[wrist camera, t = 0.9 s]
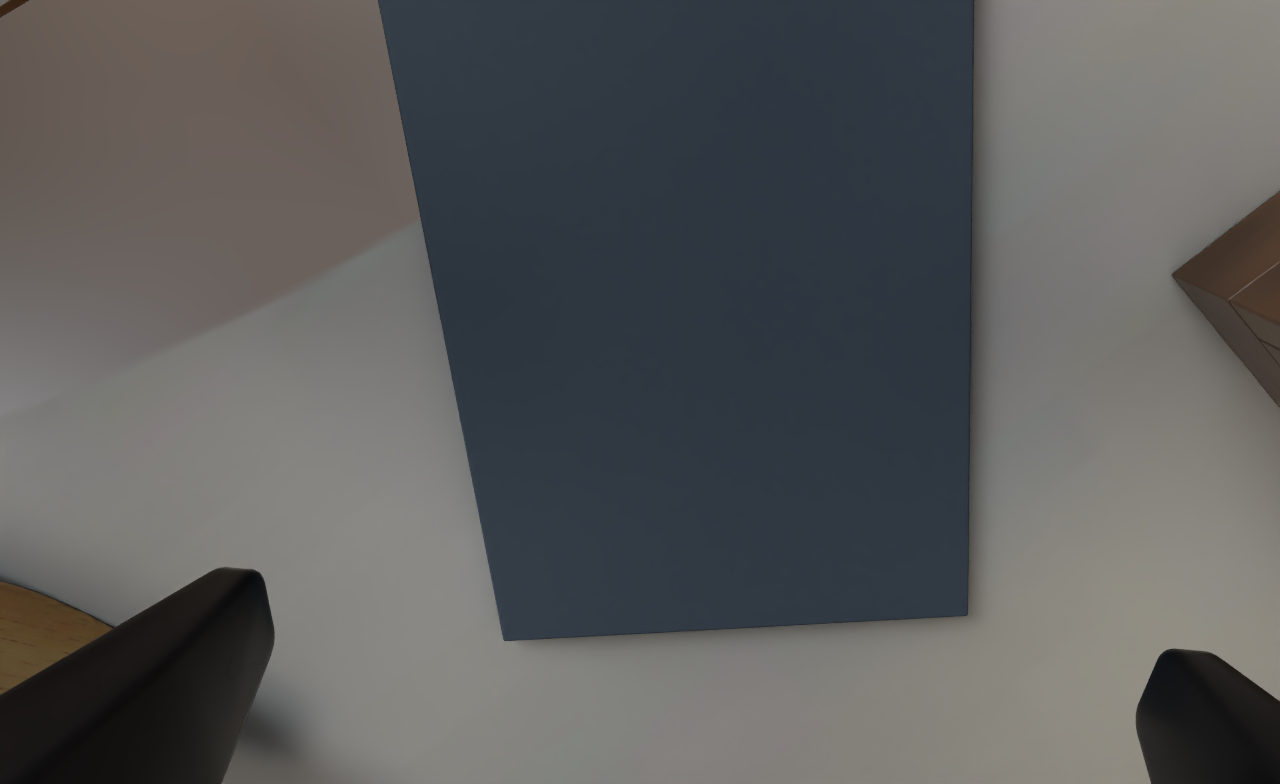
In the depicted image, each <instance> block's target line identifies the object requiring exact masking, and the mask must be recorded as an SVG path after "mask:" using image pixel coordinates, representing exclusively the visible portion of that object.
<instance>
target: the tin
mask: <svg viewBox="0 0 1280 784" xmlns="http://www.w3.org/2000/svg"><path fill="white" fill-rule="evenodd" d="M27 1H28V0H0V17H2V16H3V15H5V14H7V13H8V12H10V11H12V10H13V9H15V8H17V7H19V6H20V5H22V4H23V3H25V2H27Z"/></svg>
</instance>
